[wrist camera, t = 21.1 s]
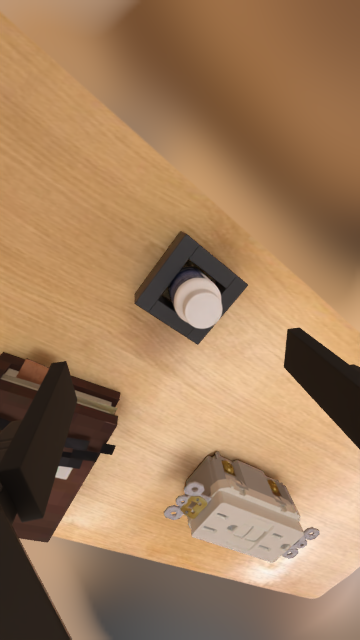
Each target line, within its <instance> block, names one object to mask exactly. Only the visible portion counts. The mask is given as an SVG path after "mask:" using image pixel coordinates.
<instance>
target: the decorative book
mask: <svg viewBox="0 0 360 640" xmlns="http://www.w3.org/2000/svg"><path fill="white" fill-rule="evenodd" d="M48 370H49V368H48V367H46V366H43V365H41V364H39V363H36V362H34V361H32V360H29V359H27V358H26V360H25V359H22V358H19V357H16V356H13V355H10V354H7V353H4V352H3V353H2V354H1V355H0V432H1V431H2V430H3V429H4V428H5V427H6V426H7V425H8V424H9V423H10V422H11V421H17V420H23V418H24V416H25V414H26V412H27V410H28V408H29V406H30V404H31V402H32V400H33V399H34V397H35V395H36V393H37V391H38V389H39V387H40V385H41V383H42V381H43V379H44V377H45V376H46V374H47V372H48ZM70 376H71V375H70ZM71 379H72V383H73V386H74V389H75V393H76V396H77V400H78V401H77V404H76V408H75V411H74V414H73V418H72V421H71V425H70V428H69V432H68V435H67V439H66V442H65V445H64V449H63V452H62V456H61V459H60V463H59V466H58V469H57V473H56V476H55V480H54V483H53V487H52V490H51V494H50V497H49V500H48V504H47V507H46V511H45V514H44V518H42V519H37V520H32V521H28V522H23V523H22V522H21V520H20V518H19V517H18V515H17V514H16V517H15V519H14V522H13V524H12V526H13V528H14V530H15V532H16V534H17V536H18V538H21V539H28V540H35V541H41V542H48V541H49V540H50V538H51V536H52V535H53V533H54V531H55V530H56V528H57V526H58V524H59V523H60V521H61V519H62V518H63V516H64V514H65V513H66V511H67V509H68V508H69V506H70V504H71V502H72V501H73V499H74V497H75V496H76V494H77V492H78V491H79V489H80V487H81V486H82V484H83V482H84V480H85V479H86V477H87V475H88V474H89V472H90V470H91V469H92V467H93V465H94V463H95V462H96V460H97V458H98V457H99V455H100V453H104V454H110V455H112V454H113V451H114V449H115V445H109V444H106V443H107V441H108V440H109V438H110V436H111V435H112V433H113V431H114V430H115V428H116V426H117V420H118V416H116V415H114V414H115V412H116V410H117V408H115V407H116V405H117V403H118V401H119V398H120V393H119V392H117V391H114V390H111V389H108V388H105V387H102V386H99V385H96V384H94V383H91V382H88V381H85V380H82V379H79V378H76V377H73V376H71Z"/></svg>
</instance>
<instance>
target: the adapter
mask: <svg viewBox="0 0 360 640" xmlns="http://www.w3.org/2000/svg"><path fill="white" fill-rule="evenodd" d="M188 259H189V260H191V261H192V262H193V263H194V264H196V265H197V266H198V267H199V268H201V269H202V270H203V271H205V272H206V273H207V274H208V275H210V276H211V277H212V278H213V279H215V280H216V281H217V282H216V283H215V285H216V286H217V288H218V289H219V291H220V294H221V303H222V315H221V317H222V316H223V314H224V313H225V312H226V311H227V310H228V309H229V307H230V306H231V305H232V304H233V303H234V301H235V300H236V299H237V298H238V297H239V295H240V294H241V293H242V292H243V291H244V290H245V288H246V287H247V286H248V284H247V283H245V282H244V281H243V280H242V279H241V278H239V277H238V276H237V275H236V274H234V273H233V272H232V271H231V270H230V269H228V268H227V267H226V266H225V265H224V264H222V263H221V262H220V261H219V260H217V259H216V258H215V257H214V256H213V255H211V254H210V253H209V252H208V251H207V250H205V249H204V248H203V247H202V246H200V245H199V244H198V243H197V242H196V241H194V240H193V239H192V238H191V237H190V236H188V235H187V234H185V233H184V232H182V231H180V233H179V234H178V235H177V237H176V238H175V240H174V241H173V242H172V244H171V245H170V246H169V248H168V249H167V250H166V252H165V253H164V255H163V256H162V257H161V259H160V260H159V261H158V263H157V264H156V266H155V267H154V268H153V270H152V271H151V272H150V274H149V275H148V276H147V278H146V279H145V281H144V282H143V283H142V285H141V286H140V287H139V289H138V290H137V292H136V293H135V304H136V305H137V306H139V307H141V308H142V309H144V310H145V311H147V312H149V313H150V314H151V315H153V316H154V317H156V318H157V319H159V320H161V321H162V322H164V323H165V324H167V325H168V326H170V327H171V328H173V329H174V330H176V331H178V332H179V333H181V334H182V335H184V336H185V337H187V338H188V339H190V340H191V341H193V342H194V343H196V344H197V345H198V344H199V343H200V342H201V341H202V339H203V338H204V337H205V336H206V335H207V333H208V332H209V331H210V330H211V329H212V328H213V326H214V325H215V324H214V325H213V326H211V327H209V328H205V329H199V328H195V327H193V326H192V325H190V324H189V323H187V322H185V321H184V320H182V319H181V318H180V317H179V316H178V314H177V313H176V311H175V308H174V306H173V303H172V302H171V301H170V300H169V299H167V298H166V297H164V296H163V295H162V294H163V292H164V291H165V290H166V288H167V287H168V286H169V284H170V283H171V282H172V280H173V279H174V278H175V276H176V275H177V274H178V273H179V271H180V270H181V269H182V267H183V266H184V265H185V263H186V262H187V261H188ZM221 317H220V318H221Z"/></svg>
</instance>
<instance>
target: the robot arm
mask: <svg viewBox="0 0 360 640" xmlns="http://www.w3.org/2000/svg"><path fill="white" fill-rule="evenodd" d="M284 368H285V369H286V370H287V371H288V372H289V373H290V374H291V375H292V376H293V377H294V379H295V380H296V381H297V382H298V383H299V384H300V385H301V386H302V387H303V388H304V389H305V391H306V392H307V393H308V394H309V395H310V396H311V397H312V398H313V399H314V400H315V401H316V402H317V404H318V405H319V406H320V407H321V408H322V409H323V410H324V411H325V412H326V413H327V414H328V415H329V417H330V418H331V419H332V420H333V421H334V422H335V423H336V424H337V425H338V426H339V427H340V428H341V430H342V431H343V432H344V433H345V434H346V435H347V436H348V437H349V438H350V439H351V440H352V441H353V443H354V444H355V445H356V446H357V447H358V448H359V449H360V367H358V366H356V365H354V364H353V365H349V364H348V363H346V362H345V361H344V360H342V359H341V358H340V357H338V356H337V355H335V354H334V353H333V352H331V351H330V350H329V349H327V348H326V347H325V346H323V345H322V344H321V343H319V342H318V341H317V340H315V339H314V338H313V337H311V336H310V335H309V334H307V333H306V332H305V331H303V330H302V329H301V328H293V329H288V330H287V340H286V351H285V361H284ZM77 401H78V400H77V396H76V393H75V389H74V386H73V383H72V379H71V376H70V372H69V369H68V366H67V362H66V361H64V362H57V363H52V364H51V366H50V368H49V370H48V372H47V374H46V376H45V377H44V379H43V381H42V383H41V385H40V387H39V389H38V391H37V393H36V395H35V397H34V399H33V400H32V402H31V404H30V406H29V408H28V410H27V412H26V414H25V416H24V418H23V420H17V421H11V422H10V423H9V424H8V425H7V426H6V427H5V428H4V429H3V430H2V431H1V432H0V640H72V638H71V636H70V634H69V632H68V631H67V629H66V627H65V625H64V623H63V621H62V619H61V617H60V615H59V614H58V612H57V610H56V608H55V606H54V604H53V602H52V600H51V598H50V596H49V594H48V593H47V591H46V589H45V587H44V585H43V583H42V581H41V579H40V577H39V576H38V574H37V572H36V570H35V568H34V566H33V564H32V562H31V560H30V558H29V557H28V555H27V553H26V551H25V549H24V547H23V545H22V543H21V542H20V540H19V538H18V536H17V534H16V532H15V530H14V528H13V526H12V524H13V522H14V519H15V517H16V514H17V515H18V517H19V518H20V520H21V522H22V523H23V522H28V521H32V520H37V519H42V518H44V514H45V511H46V507H47V504H48V500H49V497H50V494H51V490H52V487H53V483H54V480H55V476H56V473H57V469H58V466H59V463H60V459H61V456H62V452H63V449H64V445H65V442H66V439H67V435H68V432H69V428H70V425H71V421H72V418H73V414H74V411H75V408H76V404H77Z"/></svg>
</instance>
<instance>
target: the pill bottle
mask: <svg viewBox="0 0 360 640" xmlns="http://www.w3.org/2000/svg"><path fill="white" fill-rule="evenodd" d="M168 292H169V295H170V298H171V300H172V303H173V306H174V308H175V311H176V313H177V314H178V316H179V317H180V318H181V319H182V320H184V321H185V322H187V323H189V324H190V325H192V326H193V327H195V328H199V329H205V328H209V327H211V326H213V325H214V324H216V323H217V322H218V320H219V319H220V317H221V315H222V303H221V294H220V291H219V289H218V288H217V286H216V285H215V284H214V283H213V282H212V281H211V280H210V279H209V278H208V277H207V276H206V275H205V274H204V273H203V272H202V271H200V270H199V269H197V268H195V267H190V266H186V267H182V269H181V270H180V271H179V273H178V274H177V275H176V276H175V278H174V279H173V280H172V282H171V283H170V284H169V286H168Z"/></svg>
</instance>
